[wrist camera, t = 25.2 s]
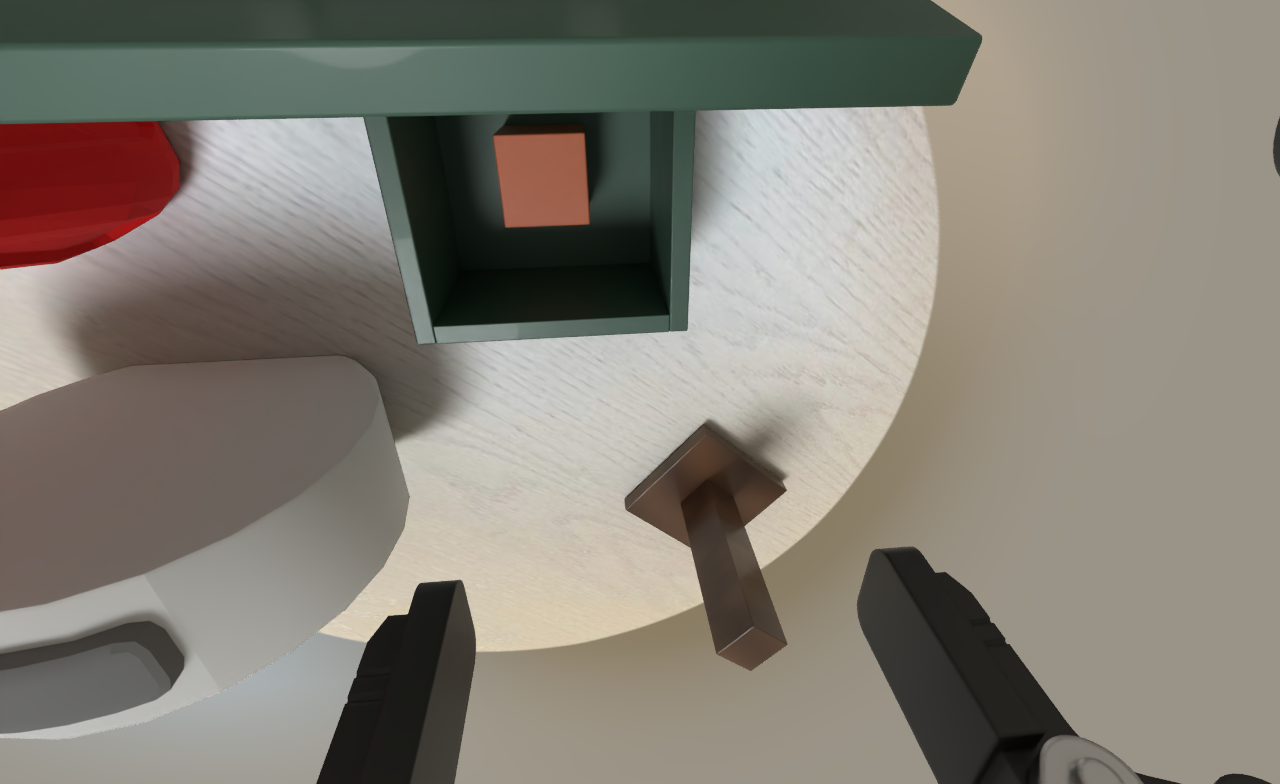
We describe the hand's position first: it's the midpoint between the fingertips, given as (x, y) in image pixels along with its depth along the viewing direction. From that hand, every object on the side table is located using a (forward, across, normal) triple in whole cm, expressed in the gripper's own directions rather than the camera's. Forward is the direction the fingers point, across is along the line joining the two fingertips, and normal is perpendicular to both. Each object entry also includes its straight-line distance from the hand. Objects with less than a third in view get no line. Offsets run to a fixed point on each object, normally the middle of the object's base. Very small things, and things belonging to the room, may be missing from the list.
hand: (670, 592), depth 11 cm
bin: (+26, +3, -6) cm, 27 cm away
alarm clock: (+26, +23, +11) cm, 37 cm away
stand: (+26, -7, +20) cm, 34 cm away
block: (+25, +3, -4) cm, 26 cm away
